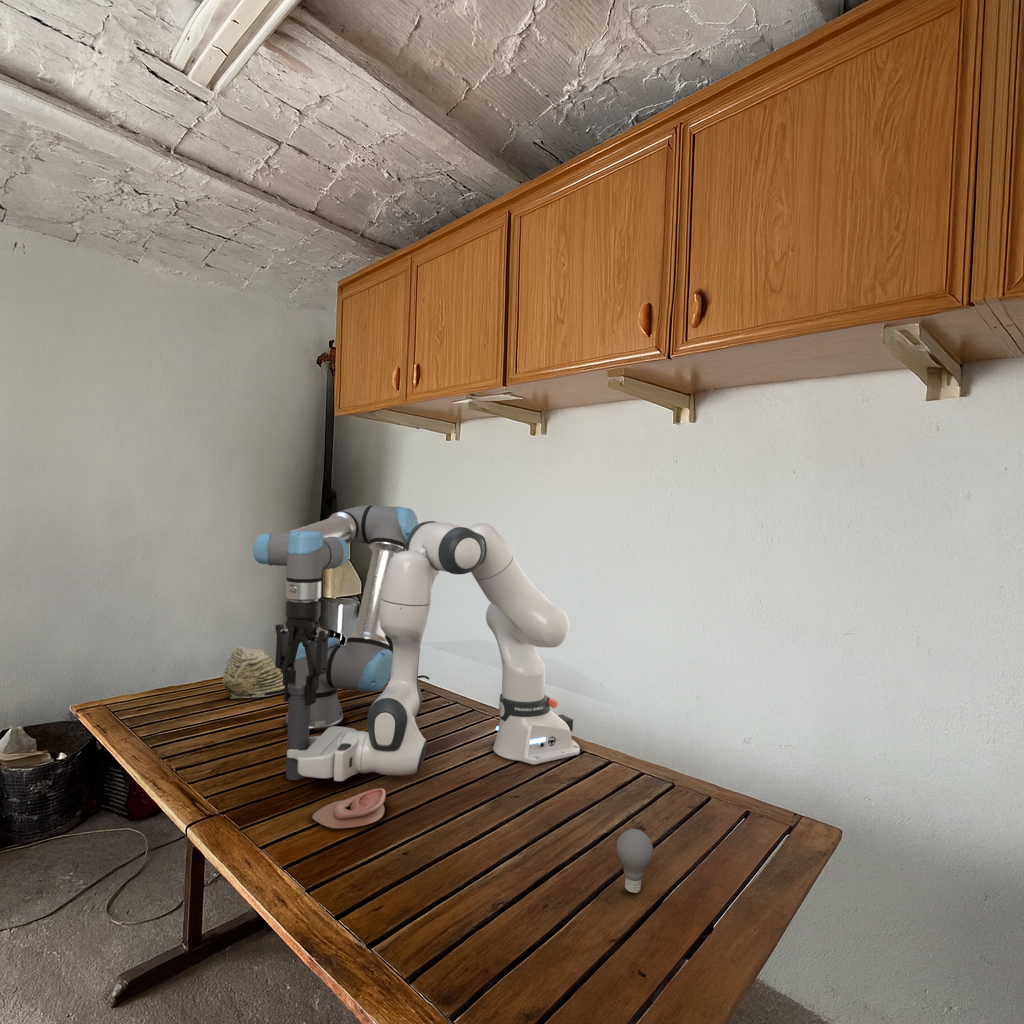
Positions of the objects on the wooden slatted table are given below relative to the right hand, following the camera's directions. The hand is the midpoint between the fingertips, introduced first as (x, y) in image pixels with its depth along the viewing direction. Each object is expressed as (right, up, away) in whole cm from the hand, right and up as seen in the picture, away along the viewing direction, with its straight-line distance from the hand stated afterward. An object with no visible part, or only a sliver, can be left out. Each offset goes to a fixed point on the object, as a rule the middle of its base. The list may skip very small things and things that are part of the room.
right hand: (293, 747), depth 143 cm
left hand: (+1, +10, 0) cm, 10 cm away
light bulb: (+69, -10, -37) cm, 80 cm away
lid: (+2, +14, 0) cm, 14 cm away
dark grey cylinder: (+1, -6, 0) cm, 6 cm away
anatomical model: (+17, -8, -17) cm, 25 cm away
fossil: (-31, -4, +55) cm, 63 cm away
